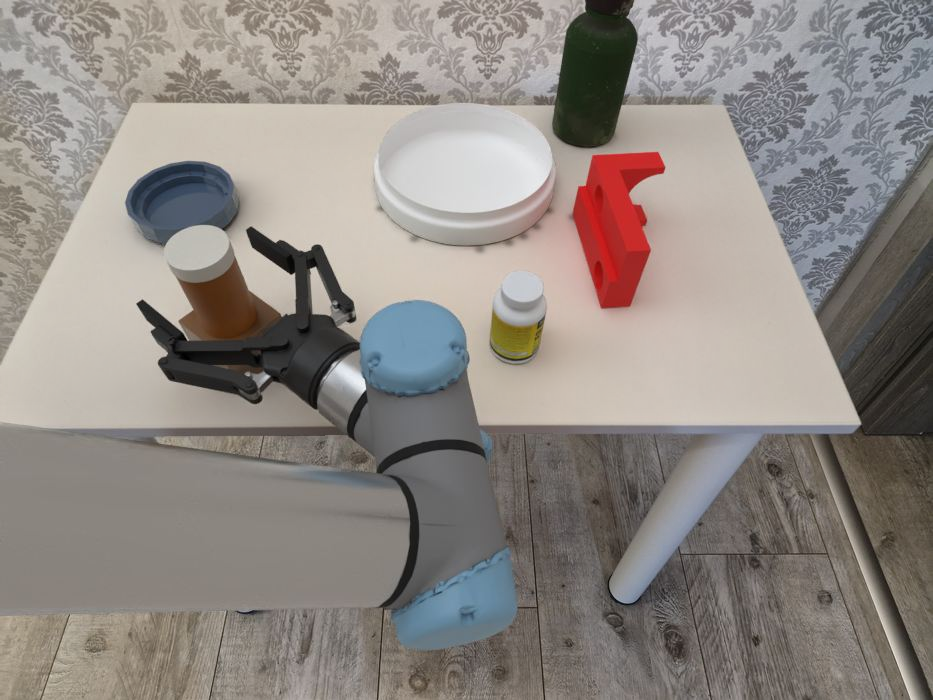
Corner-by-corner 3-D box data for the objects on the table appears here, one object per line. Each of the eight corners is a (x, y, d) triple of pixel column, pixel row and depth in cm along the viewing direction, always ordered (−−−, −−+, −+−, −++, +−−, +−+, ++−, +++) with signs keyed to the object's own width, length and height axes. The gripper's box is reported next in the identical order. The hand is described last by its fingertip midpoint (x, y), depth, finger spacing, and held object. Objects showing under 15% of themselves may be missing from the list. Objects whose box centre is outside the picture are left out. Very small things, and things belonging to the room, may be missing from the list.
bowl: (146, 261, 83) (135, 242, 80) (128, 196, 90) (118, 176, 88) (251, 229, 87) (245, 211, 84) (226, 169, 94) (219, 150, 92)
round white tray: (556, 251, 86) (562, 221, 81) (364, 242, 86) (359, 212, 82) (549, 133, 102) (554, 103, 97) (386, 126, 102) (383, 95, 97)
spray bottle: (546, 141, 100) (570, -23, 80) (558, 106, 106) (584, -56, 86) (609, 154, 99) (651, -11, 78) (618, 117, 105) (658, -45, 84)
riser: (241, 392, 71) (223, 358, 66) (198, 356, 74) (177, 320, 68) (293, 349, 75) (280, 313, 69) (250, 316, 78) (234, 279, 72)
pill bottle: (540, 366, 74) (552, 308, 65) (489, 365, 74) (494, 307, 65) (537, 326, 78) (549, 265, 69) (488, 324, 78) (494, 264, 69)
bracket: (585, 155, 82) (658, 151, 83) (572, 214, 90) (639, 210, 91) (618, 252, 72) (702, 246, 72) (601, 308, 80) (676, 302, 81)
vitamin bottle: (208, 347, 66) (170, 278, 58) (195, 306, 70) (158, 235, 61) (264, 327, 68) (236, 257, 59) (249, 289, 71) (221, 217, 62)
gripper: (248, 493, 55) (110, 366, 62) (431, 323, 66) (296, 234, 74) (222, 456, 49) (74, 321, 56) (429, 276, 60) (283, 184, 68)
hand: (200, 271), depth 65 cm, fingers open, 13 cm apart
